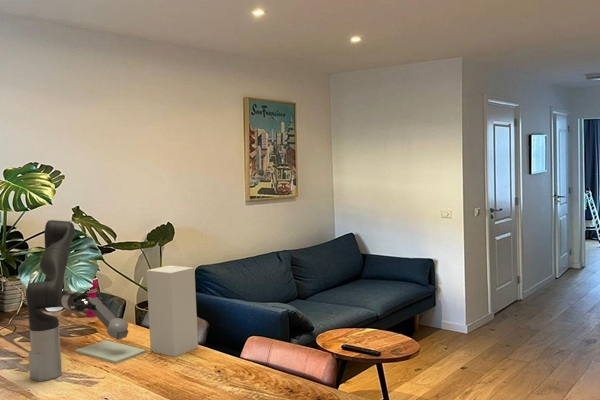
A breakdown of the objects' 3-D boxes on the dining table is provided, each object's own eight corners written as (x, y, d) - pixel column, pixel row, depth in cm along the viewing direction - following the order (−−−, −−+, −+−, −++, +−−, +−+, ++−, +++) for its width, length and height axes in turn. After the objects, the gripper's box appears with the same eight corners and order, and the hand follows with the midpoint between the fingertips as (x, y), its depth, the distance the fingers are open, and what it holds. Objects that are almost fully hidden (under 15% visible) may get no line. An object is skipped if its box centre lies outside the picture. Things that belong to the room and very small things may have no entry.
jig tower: (175, 357, 203) (170, 273, 201) (150, 351, 211) (146, 270, 209) (198, 347, 213) (194, 267, 211) (174, 342, 221) (170, 265, 219)
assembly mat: (115, 363, 198) (115, 361, 198) (75, 352, 213) (75, 349, 213) (146, 352, 209) (146, 350, 209) (105, 342, 224) (105, 340, 224)
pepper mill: (97, 317, 266) (94, 277, 265) (82, 317, 266) (80, 277, 265) (102, 313, 273) (100, 274, 272) (88, 314, 274) (86, 275, 273)
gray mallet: (114, 341, 204) (117, 332, 202) (83, 306, 214) (85, 298, 213) (129, 336, 209) (132, 328, 208) (98, 302, 220) (101, 294, 218)
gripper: (58, 296, 217) (83, 300, 207) (90, 288, 229) (115, 293, 219) (59, 314, 218) (84, 320, 208) (91, 306, 229) (116, 311, 219)
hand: (100, 306), depth 213 cm, fingers closed on gray mallet, 4 cm apart
